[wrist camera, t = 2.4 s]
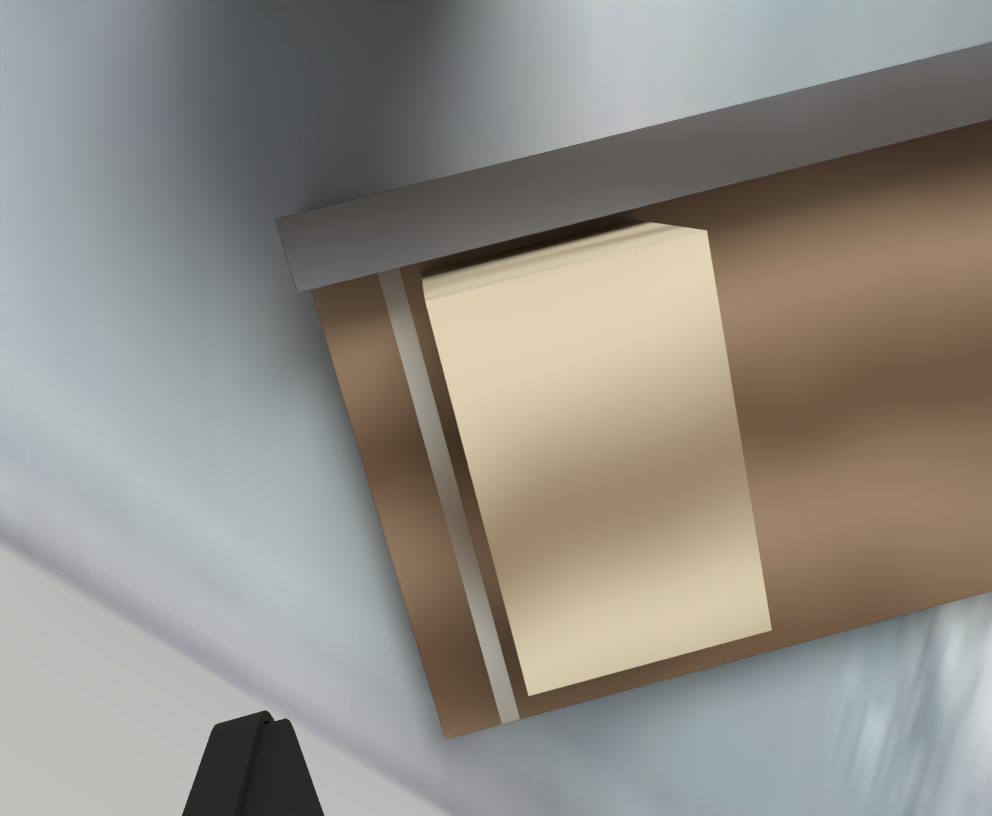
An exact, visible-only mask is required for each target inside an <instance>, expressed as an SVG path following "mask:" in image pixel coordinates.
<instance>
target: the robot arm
mask: <svg viewBox="0 0 992 816" xmlns="http://www.w3.org/2000/svg"><path fill="white" fill-rule="evenodd" d="M182 816H324V814H323V811H322V808H321V805H320V802H319V799H318V797H317V794H316V791H315V788H314V785H313V782H312V779H311V777H310V774H309V771H308V768H307V765H306V762H305V760H304V757H303V754H302V751H301V748H300V745H299V743H298V740H297V737H296V734H295V731H294V729H293V726H292V724H291V722H290V721H289V720H288V719H286V718H285V719H282V720H278V721H274V719H273V717H272V716H271V714H270V713H269V712H268V711H266V710H265V711H261V712H258V713H254V714H251V715H247V716H244V717H240V718H236V719H233V720H229V721H226V722H222V723H218V724H216V725H215V726H214V728H213V729H212V731H211V734H210V737H209V740H208V743H207V746H206V748H205V751H204V754H203V757H202V760H201V763H200V766H199V769H198V771H197V774H196V777H195V780H194V783H193V786H192V789H191V791H190V794H189V797H188V800H187V803H186V806H185V809H184V811H183V814H182Z"/></svg>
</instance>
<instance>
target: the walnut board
mask: <svg viewBox="0 0 992 816" xmlns="http://www.w3.org/2000/svg"><path fill="white" fill-rule="evenodd" d="M628 220H639V221H646V222H653V223H659V224H666V225H673V226H680V227H686V228H693V229H700V230H707V234H708V240H709V247H710V253H711V259H712V265H713V271H714V277H715V284H716V290H717V296H718V302H719V308H720V314H721V320H722V327H723V333H724V339H725V345H726V351H727V357H728V363H729V370H730V376H731V382H732V388H733V394H734V400H735V407H736V413H737V419H738V425H739V431H740V437H741V443H742V450H743V456H744V462H745V468H746V474H747V480H748V486H749V493H750V499H751V505H752V511H753V517H754V523H755V530H756V536H757V542H758V548H759V554H760V560H761V566H762V573H763V579H764V585H765V591H766V597H767V603H768V609H769V616H770V622H771V628H772V630H771V631H767V632H764V633H760V634H756V635H752V636H749V637H745V638H741V639H738V640H734V641H730V642H727V643H723V644H719V645H716V646H712V647H708V648H704V649H701V650H697V651H693V652H690V653H686V654H682V655H679V656H675V657H671V658H668V659H664V660H660V661H657V662H653V663H649V664H645V665H642V666H638V667H634V668H631V669H627V670H623V671H620V672H616V673H612V674H609V675H605V676H601V677H597V678H594V679H590V680H586V681H583V682H579V683H575V684H572V685H568V686H564V687H561V688H557V689H553V690H549V691H546V692H542V693H538V694H535V695H531V696H528V692H527V688H526V684H525V681H524V677H523V673H522V669H521V665H520V662H519V658H518V654H517V650H516V646H515V642H514V639H513V635H512V631H511V627H510V623H509V620H508V616H507V612H506V608H505V604H504V600H503V597H502V593H501V589H500V585H499V581H498V578H497V574H496V570H495V566H494V562H493V559H492V555H491V551H490V547H489V543H488V539H487V536H486V532H485V528H484V524H483V520H482V517H481V513H480V509H479V505H478V501H477V497H476V494H475V490H474V486H473V482H472V478H471V475H470V471H469V467H468V463H467V459H466V455H465V452H464V448H463V444H462V440H461V436H460V433H459V429H458V425H457V421H456V417H455V413H454V410H453V406H452V402H451V398H450V394H449V391H448V387H447V383H446V379H445V375H444V371H443V368H442V364H441V360H440V356H439V352H438V349H437V345H436V341H435V337H434V333H433V329H432V326H431V322H430V318H429V314H428V310H427V307H426V303H425V297H424V290H423V283H422V277H421V272H424V271H428V270H432V269H436V268H440V267H444V266H448V265H452V264H456V263H460V262H464V261H468V260H472V259H476V258H480V257H484V256H488V255H492V254H496V253H500V252H504V251H508V250H512V249H516V248H520V247H524V246H528V245H532V244H536V243H540V242H544V241H548V240H552V239H556V238H560V237H564V236H568V235H572V234H576V233H580V232H584V231H588V230H592V229H596V228H600V227H604V226H608V225H612V224H616V223H620V222H624V221H628ZM275 221H276V224H277V228H278V231H279V234H280V238H281V241H282V244H283V247H284V251H285V254H286V257H287V261H288V264H289V267H290V270H291V274H292V277H293V280H294V284H295V287H296V290H297V293H299V292H303V291H307V290H311V291H312V295H313V298H314V301H315V305H316V308H317V311H318V315H319V318H320V321H321V325H322V328H323V331H324V335H325V338H326V341H327V345H328V348H329V351H330V355H331V358H332V361H333V365H334V368H335V372H336V375H337V378H338V382H339V385H340V388H341V392H342V395H343V398H344V402H345V405H346V408H347V412H348V415H349V418H350V422H351V425H352V428H353V432H354V435H355V438H356V442H357V445H358V448H359V452H360V455H361V458H362V462H363V465H364V468H365V472H366V475H367V478H368V482H369V485H370V488H371V492H372V495H373V498H374V502H375V505H376V508H377V512H378V515H379V518H380V522H381V525H382V528H383V532H384V535H385V538H386V542H387V545H388V548H389V552H390V555H391V558H392V562H393V565H394V568H395V572H396V575H397V579H398V582H399V585H400V589H401V592H402V595H403V599H404V602H405V605H406V609H407V612H408V615H409V619H410V622H411V625H412V629H413V632H414V635H415V639H416V642H417V645H418V649H419V652H420V655H421V659H422V662H423V665H424V669H425V672H426V675H427V679H428V682H429V685H430V689H431V692H432V695H433V699H434V702H435V705H436V709H437V712H438V715H439V719H440V722H441V725H442V729H443V732H444V735H445V739H449V738H452V737H456V736H460V735H463V734H467V733H471V732H474V731H478V730H482V729H485V728H489V727H493V726H496V725H500V724H506V723H509V722H513V721H517V720H520V719H522V718H526V717H530V716H533V715H537V714H541V713H544V712H548V711H552V710H555V709H559V708H563V707H566V706H570V705H574V704H577V703H581V702H585V701H588V700H592V699H596V698H599V697H603V696H607V695H610V694H614V693H618V692H622V691H625V690H629V689H633V688H636V687H640V686H644V685H647V684H651V683H655V682H658V681H662V680H666V679H669V678H673V677H677V676H680V675H684V674H688V673H691V672H695V671H699V670H702V669H706V668H710V667H713V666H717V665H721V664H725V663H728V662H732V661H736V660H739V659H743V658H747V657H750V656H754V655H758V654H761V653H765V652H769V651H772V650H776V649H780V648H783V647H787V646H791V645H794V644H798V643H802V642H805V641H809V640H813V639H816V638H820V637H824V636H827V635H831V634H835V633H839V632H842V631H846V630H850V629H853V628H857V627H861V626H864V625H868V624H872V623H875V622H879V621H883V620H886V619H890V618H894V617H897V616H901V615H905V614H908V613H912V612H916V611H919V610H923V609H927V608H930V607H934V606H938V605H942V604H945V603H949V602H953V601H956V600H960V599H964V598H967V597H971V596H975V595H978V594H982V593H986V592H989V591H992V42H990V43H986V44H982V45H978V46H974V47H970V48H966V49H962V50H958V51H954V52H950V53H946V54H942V55H938V56H934V57H930V58H926V59H921V60H917V61H913V62H909V63H905V64H901V65H897V66H893V67H889V68H885V69H881V70H877V71H873V72H869V73H865V74H861V75H857V76H853V77H849V78H845V79H840V80H836V81H832V82H828V83H824V84H820V85H816V86H812V87H808V88H804V89H800V90H796V91H792V92H788V93H784V94H780V95H776V96H772V97H768V98H764V99H759V100H755V101H751V102H747V103H743V104H739V105H735V106H731V107H727V108H723V109H719V110H715V111H711V112H707V113H703V114H699V115H695V116H691V117H687V118H683V119H678V120H674V121H670V122H666V123H662V124H658V125H654V126H650V127H646V128H642V129H638V130H634V131H630V132H626V133H622V134H618V135H614V136H610V137H606V138H602V139H597V140H593V141H589V142H585V143H581V144H577V145H573V146H569V147H565V148H561V149H557V150H553V151H549V152H545V153H541V154H537V155H533V156H529V157H525V158H520V159H516V160H512V161H508V162H504V163H500V164H496V165H492V166H488V167H484V168H480V169H476V170H472V171H468V172H464V173H460V174H456V175H452V176H448V177H444V178H439V179H435V180H431V181H427V182H423V183H419V184H415V185H411V186H407V187H403V188H399V189H395V190H391V191H387V192H383V193H379V194H375V195H371V196H367V197H363V198H358V199H354V200H350V201H346V202H342V203H338V204H334V205H330V206H326V207H322V208H318V209H314V210H310V211H306V212H302V213H298V214H294V215H290V216H286V217H282V218H277V219H275Z"/></svg>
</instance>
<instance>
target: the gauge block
mask: <svg viewBox="0 0 992 816" xmlns="http://www.w3.org/2000/svg"><path fill="white" fill-rule="evenodd" d="M421 277H422V283H423V290H424V297H425V303H426V307H427V310H428V314H429V318H430V322H431V326H432V329H433V333H434V337H435V341H436V345H437V349H438V352H439V356H440V360H441V364H442V368H443V371H444V375H445V379H446V383H447V387H448V391H449V394H450V398H451V402H452V406H453V410H454V413H455V417H456V421H457V425H458V429H459V433H460V436H461V440H462V444H463V448H464V452H465V455H466V459H467V463H468V467H469V471H470V475H471V478H472V482H473V486H474V490H475V494H476V497H477V501H478V505H479V509H480V513H481V517H482V520H483V524H484V528H485V532H486V536H487V539H488V543H489V547H490V551H491V555H492V559H493V562H494V566H495V570H496V574H497V578H498V581H499V585H500V589H501V593H502V597H503V600H504V604H505V608H506V612H507V616H508V620H509V623H510V627H511V631H512V635H513V639H514V642H515V646H516V650H517V654H518V658H519V662H520V665H521V669H522V673H523V677H524V681H525V684H526V688H527V692H528V696H531V695H535V694H538V693H542V692H546V691H549V690H553V689H557V688H561V687H564V686H568V685H572V684H575V683H579V682H583V681H586V680H590V679H594V678H597V677H601V676H605V675H609V674H612V673H616V672H620V671H623V670H627V669H631V668H634V667H638V666H642V665H645V664H649V663H653V662H657V661H660V660H664V659H668V658H671V657H675V656H679V655H682V654H686V653H690V652H693V651H697V650H701V649H704V648H708V647H712V646H716V645H719V644H723V643H727V642H730V641H734V640H738V639H741V638H745V637H749V636H752V635H756V634H760V633H764V632H767V631H771V630H772V628H771V622H770V616H769V609H768V603H767V597H766V591H765V585H764V579H763V573H762V566H761V560H760V554H759V548H758V542H757V536H756V530H755V523H754V517H753V511H752V505H751V499H750V493H749V486H748V480H747V474H746V468H745V462H744V456H743V450H742V443H741V437H740V431H739V425H738V419H737V413H736V407H735V400H734V394H733V388H732V382H731V376H730V370H729V363H728V357H727V351H726V345H725V339H724V333H723V327H722V320H721V314H720V308H719V302H718V296H717V290H716V284H715V277H714V271H713V265H712V259H711V253H710V247H709V240H708V234H707V230H700V229H693V228H686V227H680V226H673V225H666V224H659V223H653V222H646V221H639V220H628V221H624V222H620V223H616V224H612V225H608V226H604V227H600V228H596V229H592V230H588V231H584V232H580V233H576V234H572V235H568V236H564V237H560V238H556V239H552V240H548V241H544V242H540V243H536V244H532V245H528V246H524V247H520V248H516V249H512V250H508V251H504V252H500V253H496V254H492V255H488V256H484V257H480V258H476V259H472V260H468V261H464V262H460V263H456V264H452V265H448V266H444V267H440V268H436V269H432V270H428V271H424V272H421Z"/></svg>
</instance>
